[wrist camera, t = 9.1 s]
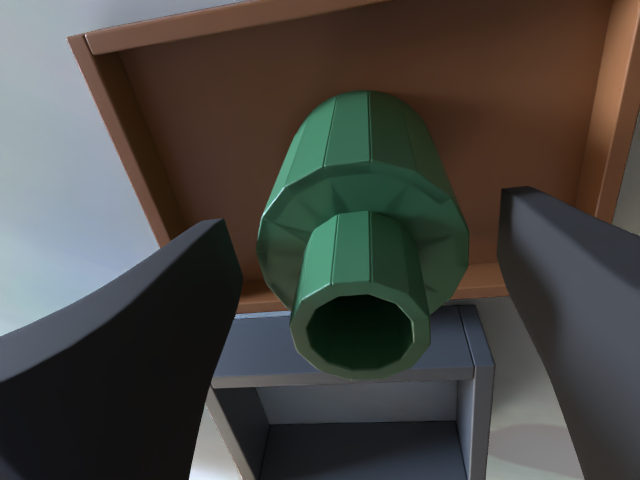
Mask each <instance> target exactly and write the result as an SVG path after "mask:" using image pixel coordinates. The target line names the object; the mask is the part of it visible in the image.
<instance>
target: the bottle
mask: <svg viewBox="0 0 640 480" xmlns="http://www.w3.org/2000/svg"><path fill="white" fill-rule="evenodd" d="M469 236H470V232H469V229H468V226H467V224H466V221H465V218H464V216H463V213H462V211H461V208H460V206H459V203H458V201H457V198H456V196H455V193H454V191H453V188H452V186H451V183H450V181H449V178H448V176H447V173H446V171H445V168H444V166H443V163H442V160H441V158H440V155H439V153H438V150H437V148H436V145H435V143H434V141H433V139H432V137H431V135H430V133H429V130H428V128H427V126H426V124H425V123H424V121H423V119H422V118H421V117H420V116H419V114H418V113H417V112H416V111H415V110H414V109H413V108H412V107H411V106H409V105H408V104H407V103H405V102H404V101H402V100H401V99H399V98H397V97H395V96H392V95H390V94H387V93H384V92H379V91H373V90H355V91H349V92H345V93H341V94H338V95H336V96H333V97H331V98H329V99H327V100H325V101H324V102H322V103H321V104H320V105H318V106H317V107H316V108H314V109H313V110H312V111H311V112H310V113H309V114H308V116H307V117H306V118H305V119H304V121H303V122H302V124H301V125H300V127H299V129H298V131H297V133H296V134H295V135H294V138H293V140H292V142H291V145H290V147H289V150H288V152H287V155H286V157H285V160H284V162H283V165H282V167H281V170H280V172H279V175H278V177H277V180H276V182H275V185H274V187H273V190H272V192H271V195H270V197H269V200H268V202H267V205H266V207H265V210H264V212H263V214H262V217H261V221H260V227H259V233H258V239H257V244H256V254H257V257H258V261H259V264H260V267H261V271H262V274H263V277H264V281H265V282H266V284H267V286H268V287H269V288H270V289H271V290H272V292H273V293H274V294H275V295H276V296H277V297H278V299H279V300H280V301H281V302H282V303H283V304H284V306H285V307H286V308H288V309H289V310H290V311H292V312H291V317H290V322H289V328H290V331H291V335H292V338H293V342H294V345H295V349H296V350H297V352H298V353H299V354H300V355H301V356H303V357H304V358H305V359H306V360H307V361H308V362H309V363H311V364H312V365H313V366H314V367H315V368H316V369H318V370H320V371H322V372H325V373H328V374H331V375H334V376H337V377H341V378H344V379H347V380H378V379H383V378H384V379H386V378H388V377H391V376H393V375H395V374H398V373H400V372H402V371H404V370H407V369H409V368H411V367H413V366H414V365H415V364H416V363H417V361H418V360H419V359H420V358H421V356H422V355H423V354H424V353H425V351H426V350H427V349H428V347H429V346H430V344H431V318H430V314H432V313H433V312H434V311H436V310H437V309H438V308H439V307H441V306H442V305H443V304H444V303H446V302H447V301H448V300H449V299H450V298H451V297H452V296H453V294H454V292H455V291H456V289H457V287H458V285H459V283H460V281H461V280H462V278H463V276H464V274H465V272H466V271H467V269H468V265H469Z"/></svg>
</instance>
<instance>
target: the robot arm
mask: <svg viewBox="0 0 640 480" xmlns="http://www.w3.org/2000/svg"><path fill="white" fill-rule="evenodd" d="M496 257H497V260H498V263H499V267H500V270H501V273H502V276H503V279H504V282H505V285H506V288H507V291H508V293H509V295H510V297H511V299H512V301H513V303H514V305H515V307H516V309H517V311H518V313H519V315H520V317H521V319H522V321H523V323H524V325H525V327H526V329H527V331H528V333H529V335H530V337H531V339H532V341H533V343H534V345H535V347H536V349H537V351H538V353H539V356H540V358H541V360H542V362H543V364H544V366H545V368H546V371H547V373H548V375H549V377H550V380H551V383H552V385H553V388H554V391H555V394H556V396H557V399H558V402H559V405H560V407H561V410H562V413H563V416H564V419H565V421H566V424H567V427H568V430H569V433H570V436H571V439H572V442H573V445H574V448H575V451H576V454H577V457H578V460H579V463H580V466H581V469H582V472H583V475H584V479H585V480H640V236H638V235H635V234H633V233H631V232H628V231H626V230H623V229H621V228H619V227H616V226H614V225H611V224H609V223H607V222H605V221H603V220H600V219H598V218H596V217H594V216H592V215H590V214H587V213H585V212H583V211H581V210H579V209H577V208H575V207H573V206H571V205H569V204H567V203H565V202H563V201H561V200H559V199H557V198H555V197H553V196H551V195H549V194H547V193H544V192H542V191H540V190H538V189H536V188H533V187H530V186H520V187H510V188H501V200H500V214H499V228H498V241H497V255H496ZM243 279H244V277H243V274H242V271H241V268H240V265H239V262H238V259H237V256H236V253H235V250H234V247H233V244H232V241H231V238H230V235H229V232H228V229H227V226H226V223H225V220H224V218H221V219H212V220H203V221H201V222H199V223H197V224H196V225H194V226H192V227H191V228H189V229H188V230H186V231H185V232H183V233H182V234H180V235H179V236H178V237H176V238H175V239H173V240H172V241H171V242H169V243H168V244H166V245H165V246H163V247H162V248H161V249H159V250H158V251H156V252H155V253H154V254H152V255H151V256H149V257H148V258H147V259H145V260H144V261H142V262H141V263H139V264H137V265H136V266H134V267H133V268H131V269H130V270H128V271H127V272H125V273H124V274H122V275H121V276H119V277H118V278H116V279H115V280H113V281H111V282H110V283H108V284H107V285H105V286H103V287H101V288H100V289H98V290H96V291H95V292H93V293H91V294H89V295H87V296H86V297H84V298H82V299H80V300H78V301H76V302H75V303H73V304H71V305H69V306H67V307H65V308H63V309H60V310H58V311H56V312H54V313H52V314H50V315H48V316H46V317H44V318H41V319H39V320H37V321H35V322H33V323H31V324H29V325H27V326H24V327H22V328H20V329H17V330H15V331H13V332H10V333H8V334H5V335H3V336H1V337H0V480H189V475H190V470H191V464H192V460H193V455H194V450H195V446H196V441H197V436H198V432H199V427H200V423H201V419H202V415H203V410H204V406H205V402H206V398H207V394H208V391H209V387H210V384H211V381H212V378H213V375H214V372H215V369H216V367H217V364H218V361H219V359H220V356H221V353H222V350H223V348H224V345H225V342H226V340H227V337H228V334H229V331H230V329H231V326H232V323H233V320H234V317H235V314H236V311H237V308H238V304H239V300H240V295H241V290H242V284H243Z"/></svg>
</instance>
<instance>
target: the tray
mask: <svg viewBox="0 0 640 480" xmlns="http://www.w3.org/2000/svg"><path fill="white" fill-rule="evenodd" d="M67 42H68V44H69V46H70V48H71V51H72V53H73V55H74V57H75V60H76V62H77V64H78V66H79V68H80V71H81V73H82V75H83V77H84V80H85V82H86V84H87V86H88V88H89V91H90V93H91V95H92V97H93V100H94V102H95V104H96V106H97V109H98V111H99V113H100V115H101V117H102V120H103V122H104V124H105V126H106V129H107V131H108V133H109V135H110V137H111V140H112V142H113V144H114V146H115V149H116V151H117V153H118V155H119V157H120V160H121V162H122V164H123V166H124V169H125V171H126V173H127V175H128V178H129V180H130V182H131V184H132V186H133V189H134V191H135V193H136V195H137V198H138V200H139V202H140V204H141V206H142V209H143V211H144V213H145V215H146V218H147V220H148V222H149V224H150V227H151V229H152V231H153V233H154V235H155V238H156V240H157V242H158V244H159V247H160V249H161V248H162V247H163V246H165V245H166V244H168V243H169V242H171V241H172V240H173V239H175V238H176V237H178V236H179V235H180V234H182V233H183V232H185V231H186V230H188V229H189V228H191V227H192V226H194V225H196V224H197V223H199V222H201V221H203V220H212V219H221V218H224V220H225V223H226V226H227V229H228V232H229V235H230V238H231V241H232V244H233V247H234V250H235V253H236V256H237V259H238V262H239V265H240V268H241V271H242V274H243V277H244V279H243V284H242V290H241V295H240V300H239V304H238V308H237V311H236V314H242V313H258V312H273V311H288V310H289V309H288V308H286V307H285V306H284V304H283V303H282V302H281V301H280V300H279V299H278V297H277V296H276V295H275V294H274V293H273V292H272V290H271V289H270V288H269V287H268V286H267V284H266V282H265V281H264V277H263V274H262V271H261V267H260V264H259V261H258V257H257V254H256V244H257V239H258V233H259V227H260V221H261V217H262V214H263V212H264V210H265V207H266V205H267V202H268V200H269V197H270V195H271V192H272V190H273V187H274V185H275V182H276V180H277V177H278V175H279V172H280V170H281V167H282V165H283V162H284V160H285V157H286V155H287V152H288V150H289V147H290V145H291V142H292V140H293V138H294V135H295V134H296V133H297V131H298V129H299V127H300V125H301V124H302V122H303V121H304V119H305V118H306V117H307V116H308V114H309V113H310V112H311V111H312V110H313V109H314V108H316V107H317V106H318V105H320V104H321V103H322V102H324V101H325V100H327V99H329V98H331V97H333V96H336V95H338V94H341V93H345V92H349V91H355V90H373V91H379V92H384V93H387V94H390V95H392V96H395V97H397V98H399V99H401V100H402V101H404V102H405V103H407V104H408V105H409V106H411V107H412V108H413V109H414V110H415V111H416V112H417V113H418V114H419V116H420V117H421V118H422V119H423V121H424V123H425V124H426V126H427V128H428V130H429V133H430V135H431V137H432V139H433V141H434V143H435V145H436V148H437V150H438V153H439V155H440V158H441V160H442V163H443V166H444V168H445V171H446V173H447V176H448V178H449V181H450V183H451V186H452V188H453V191H454V193H455V196H456V198H457V201H458V203H459V206H460V208H461V211H462V213H463V216H464V218H465V221H466V224H467V226H468V229H469V232H470V236H469V265H468V269H467V271H466V272H465V274H464V276H463V278H462V280H461V281H460V283H459V285H458V287H457V289H456V291H455V292H454V294H453V296H452V297H451V298H450V299H449V300H456V299H471V298H487V297H502V296H510V295H509V293H508V291H507V288H506V285H505V282H504V279H503V276H502V273H501V270H500V267H499V263H498V260H497V257H496V255H497V241H498V228H499V214H500V200H501V188H510V187H520V186H530V187H533V188H536V189H538V190H540V191H542V192H544V193H547V194H549V195H551V196H553V197H555V198H557V199H559V200H561V201H563V202H565V203H567V204H569V205H571V206H573V207H575V208H577V209H579V210H581V211H583V212H585V213H587V214H590V215H592V216H594V217H596V218H598V219H600V220H603V221H605V222H607V223H609V224H612V220H613V216H614V212H615V208H616V204H617V199H618V195H619V191H620V187H621V183H622V179H623V175H624V171H625V167H626V162H627V158H628V154H629V150H630V146H631V142H632V138H633V134H634V129H635V125H636V121H637V117H638V113H639V109H640V0H248V1H243V2H238V3H232V4H227V5H222V6H217V7H212V8H206V9H201V10H196V11H191V12H186V13H181V14H175V15H170V16H165V17H160V18H155V19H149V20H144V21H139V22H134V23H129V24H123V25H118V26H113V27H108V28H103V29H98V30H95V31H90V32H86V33H82V34H78V35H74V36H70V37H67Z"/></svg>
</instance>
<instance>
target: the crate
mask: <svg viewBox="0 0 640 480" xmlns="http://www.w3.org/2000/svg"><path fill="white" fill-rule="evenodd" d="M290 317H291V316H283V317H267V318H251V319H235V320H233V323H232V326H231V329H230V331H229V334H228V337H227V340H226V342H225V345H224V348H223V350H222V353H221V356H220V359H219V361H218V364H217V367H216V369H215V372H214V375H213V378H212V381H211V384H210V387H209V391H208V394H207V398H206V402H205V406H206V408H207V410H208V412H209V414H210V416H211V418H212V420H213V422H214V424H215V426H216V428H217V430H218V432H219V434H220V436H221V438H222V440H223V442H224V444H225V446H226V448H227V449H228V451H229V453H230V455H231V457H232V459H233V461H234V463H235V465H236V467H237V469H238V471H239V473H240V475H241V477H242V479H243V480H485V479H486V467H487V456H488V443H489V433H490V422H491V410H492V399H493V387H494V376H495V362H494V359H493V356H492V353H491V350H490V347H489V344H488V341H487V338H486V335H485V332H484V329H483V326H482V323H481V320H480V317H479V314H478V311H477V308H476V305H462V306H441V307H439V308H438V309H437V310H436V311H434V312H433V313H432V314H430V318H431V344H430V346H429V347H428V349H427V350H426V351H425V353H424V354H423V355H422V356H421V358H420V359H419V360H418V361H417V363H416V364H415V365H414V366H413V367H411V368H409V369H407V370H404V371H402V372H400V373H398V374H395V375H393V376H391V377H388V378H386V379H384V378H383V379H378V380H347V379H344V378H341V377H337V376H334V375H331V374H328V373H325V372H322V371H320V370H318V369H316V368H315V367H314V366H313V365H312V364H311V363H309V362H308V361H307V360H306V359H305V358H304V357H303V356H301V355H300V354H299V353H298V352H297V350H296V349H295V345H294V342H293V338H292V335H291V331H290V328H289V322H290ZM439 380H457V403H456V422H455V421H447V422H397V423H347V424H297V425H269V423H268V420H267V418H266V415H265V412H264V410H263V407H262V405H261V402H260V400H259V397H258V394H257V392H256V389H255V387H269V386H297V385H326V384H354V383H382V382H410V381H439Z"/></svg>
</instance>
